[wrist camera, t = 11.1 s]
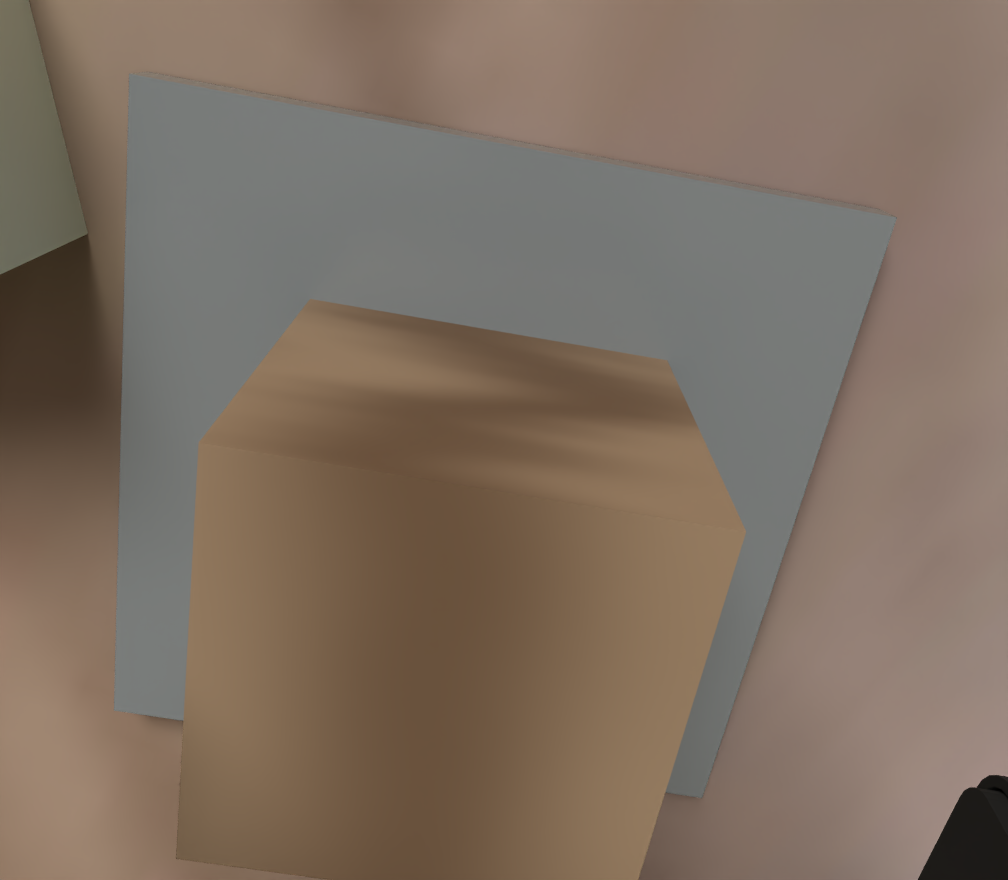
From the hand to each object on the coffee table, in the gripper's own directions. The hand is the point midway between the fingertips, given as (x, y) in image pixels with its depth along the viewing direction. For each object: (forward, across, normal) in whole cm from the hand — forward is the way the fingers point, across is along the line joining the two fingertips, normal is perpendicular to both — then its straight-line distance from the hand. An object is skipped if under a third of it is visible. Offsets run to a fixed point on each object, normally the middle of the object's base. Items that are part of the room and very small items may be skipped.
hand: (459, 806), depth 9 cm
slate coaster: (+9, 0, +1) cm, 9 cm away
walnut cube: (+8, 0, +1) cm, 8 cm away
